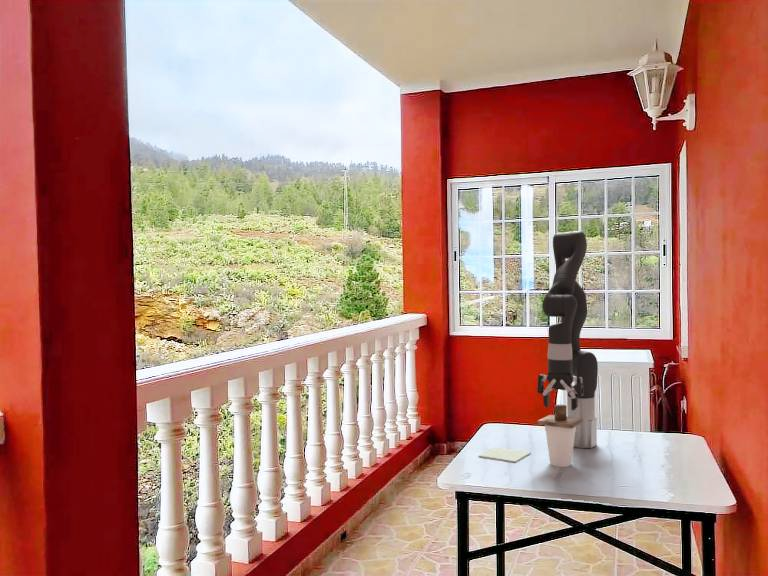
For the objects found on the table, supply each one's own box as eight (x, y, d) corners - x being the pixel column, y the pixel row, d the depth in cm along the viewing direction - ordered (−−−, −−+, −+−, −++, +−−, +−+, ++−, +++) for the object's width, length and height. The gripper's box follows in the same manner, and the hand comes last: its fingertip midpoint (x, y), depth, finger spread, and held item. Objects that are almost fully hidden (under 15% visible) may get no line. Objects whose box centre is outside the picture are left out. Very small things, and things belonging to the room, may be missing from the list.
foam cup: (563, 470, 203) (563, 427, 203) (539, 463, 210) (539, 422, 210) (581, 464, 209) (581, 423, 209) (557, 458, 216) (557, 418, 216)
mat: (530, 453, 222) (530, 452, 222) (515, 462, 212) (515, 461, 212) (495, 448, 230) (495, 447, 230) (478, 457, 219) (478, 455, 219)
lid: (583, 422, 211) (583, 404, 211) (571, 428, 202) (571, 410, 202) (550, 418, 217) (550, 401, 217) (537, 424, 208) (537, 406, 208)
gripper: (586, 357, 209) (586, 409, 209) (542, 355, 217) (542, 404, 217) (578, 360, 202) (578, 413, 203) (534, 357, 210) (534, 408, 211)
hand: (560, 408), depth 210 cm, fingers open, 8 cm apart
